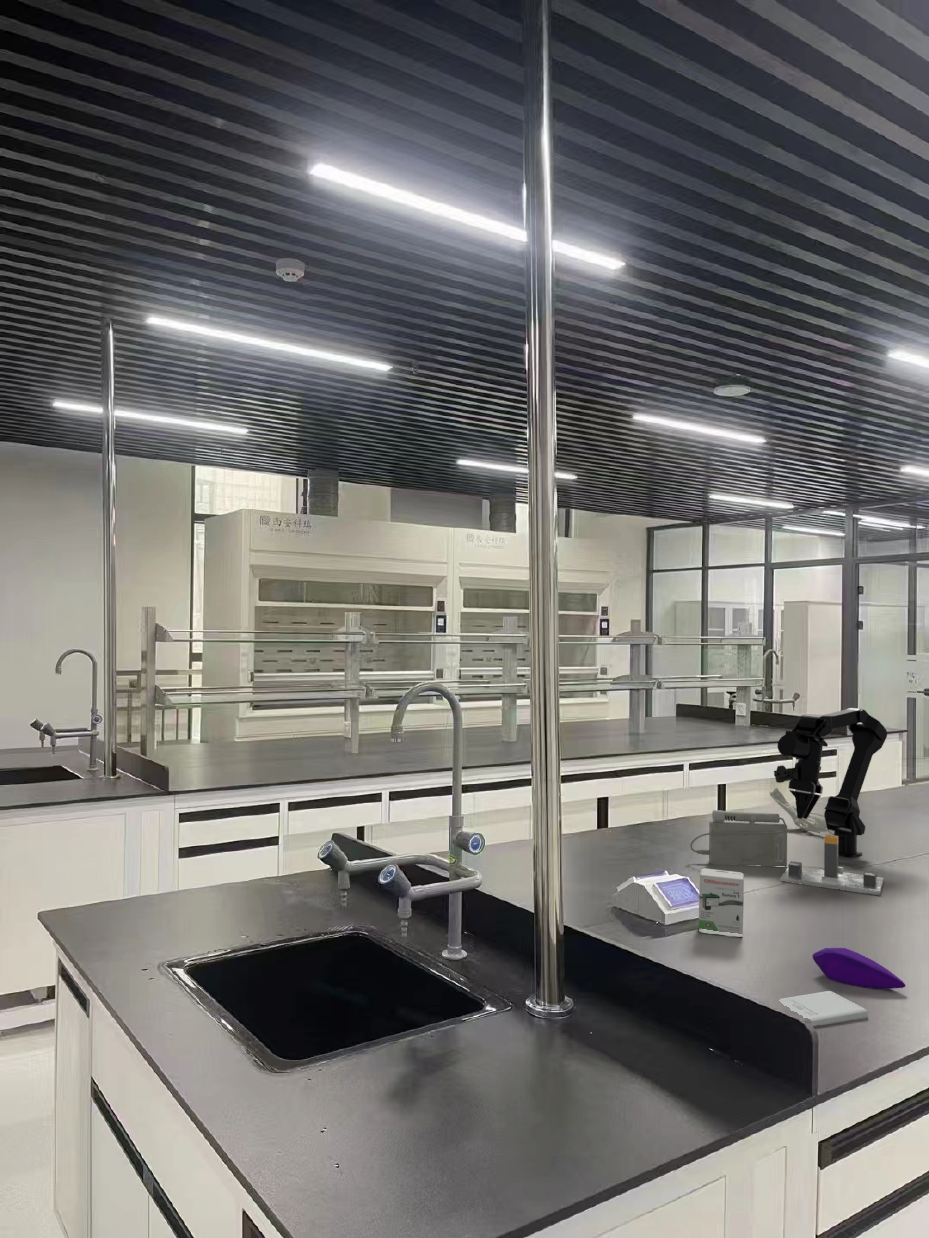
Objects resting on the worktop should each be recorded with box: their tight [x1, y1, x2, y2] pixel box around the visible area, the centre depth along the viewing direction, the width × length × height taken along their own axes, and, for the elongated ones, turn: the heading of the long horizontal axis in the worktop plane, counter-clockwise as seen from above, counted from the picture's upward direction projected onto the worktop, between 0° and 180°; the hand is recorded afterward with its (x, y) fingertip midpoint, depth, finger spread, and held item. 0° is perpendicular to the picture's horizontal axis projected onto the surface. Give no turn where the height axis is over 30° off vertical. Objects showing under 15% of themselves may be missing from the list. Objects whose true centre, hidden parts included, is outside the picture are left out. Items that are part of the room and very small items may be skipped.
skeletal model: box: [769, 787, 834, 835], centre depth 271 cm, size 16×9×25 cm
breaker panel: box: [780, 861, 885, 897], centre depth 211 cm, size 14×22×4 cm, turn 61°
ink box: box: [698, 867, 745, 935], centre depth 172 cm, size 9×5×12 cm, turn 73°
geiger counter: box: [689, 809, 788, 867], centre depth 226 cm, size 14×6×25 cm
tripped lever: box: [823, 834, 839, 877], centre depth 209 cm, size 3×3×10 cm
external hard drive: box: [779, 990, 869, 1026], centre depth 134 cm, size 2×8×12 cm
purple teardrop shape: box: [812, 947, 906, 990], centre depth 147 cm, size 5×5×15 cm
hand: (802, 818), depth 231 cm, fingers open, 9 cm apart
